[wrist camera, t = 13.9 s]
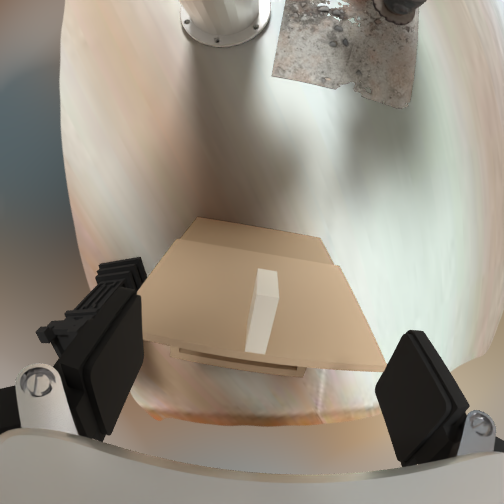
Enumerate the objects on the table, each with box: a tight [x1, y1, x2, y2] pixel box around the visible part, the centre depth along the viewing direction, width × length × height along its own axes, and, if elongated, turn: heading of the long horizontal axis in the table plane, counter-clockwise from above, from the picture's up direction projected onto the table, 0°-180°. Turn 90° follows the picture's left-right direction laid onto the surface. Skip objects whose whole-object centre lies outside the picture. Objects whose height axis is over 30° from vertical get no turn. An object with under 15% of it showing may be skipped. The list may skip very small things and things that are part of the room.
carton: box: [170, 217, 334, 377], centre depth 41 cm, size 16×18×12 cm
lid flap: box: [137, 239, 387, 372], centre depth 24 cm, size 16×18×5 cm
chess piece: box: [36, 257, 147, 358], centre depth 38 cm, size 8×8×20 cm
